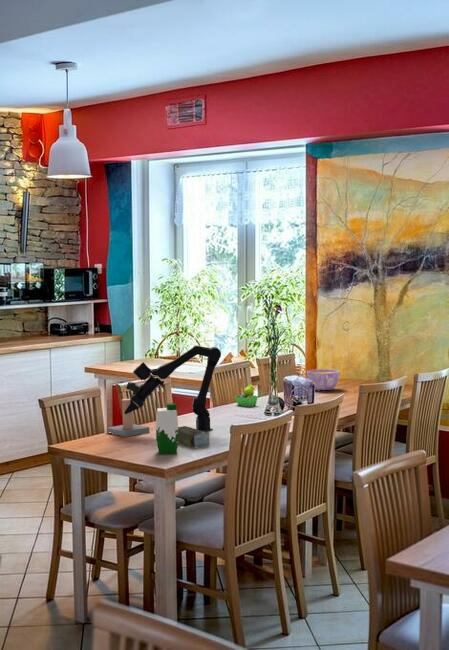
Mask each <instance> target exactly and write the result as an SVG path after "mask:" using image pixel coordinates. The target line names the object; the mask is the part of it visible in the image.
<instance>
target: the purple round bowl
mask: <svg viewBox="0 0 449 650" xmlns="http://www.w3.org/2000/svg"><path fill="white" fill-rule="evenodd" d="M340 373H341V371H340V370H338V369H329V368H328V369H326V368H325V369H323V368H322V369H321V368H320V369H309V370H307V371H306V375H307V379H308V378H309V379H311V380H312V381H313V382H314V383H315V390H316V391H317V390H329V389H330V390H333V389H335V388H336V387H337V385H338V382H339V378H340Z"/></svg>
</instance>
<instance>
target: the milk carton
mask: <svg viewBox="0 0 449 650" xmlns="http://www.w3.org/2000/svg"><path fill="white" fill-rule="evenodd" d="M177 406H178V405H177V403H173V402H171V403H166V407H161V408H160V407H158V408H156V415H155V416H156V417H155V418H156V419H155V436H156V437H155V438H156V446H157V451H158V453H159V454H158V455H177V454H178V446H179V443H178V427H179V420H178V407H177Z"/></svg>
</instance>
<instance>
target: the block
mask: <svg viewBox="0 0 449 650" xmlns="http://www.w3.org/2000/svg"><path fill="white" fill-rule="evenodd" d="M121 403H122V404H121V407H122V411H121V413H122V425H123V428H133V424H134V413H133V412H134V411H132V412H130V413H128V414H125V413H124V412H125V411H126V409H127V408H128V406H129V405H130V398H122V400H121Z"/></svg>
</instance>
